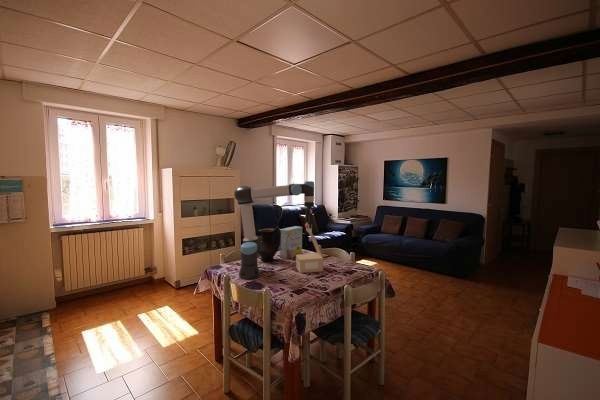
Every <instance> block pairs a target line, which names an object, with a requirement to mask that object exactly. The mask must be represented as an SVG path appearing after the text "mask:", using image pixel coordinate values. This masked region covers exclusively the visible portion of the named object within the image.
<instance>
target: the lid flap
mask: <svg viewBox="0 0 600 400" xmlns="http://www.w3.org/2000/svg"><path fill="white" fill-rule="evenodd" d="M304 226H305V229H306V228H308V223H306V222H305V224H304ZM308 234H309V237H310V238H311V239H310V240H311V241H312V244H313V246H314V248H315V251H316V253H318V254H319V255H320V256H321V257H322V258H324V256H323V253H322V251H321V249H320V246H319V244H318V241H317V239H316V236H315V235H314V234H313V232H312V233H308Z"/></svg>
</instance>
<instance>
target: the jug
mask: <svg viewBox="0 0 600 400" xmlns="http://www.w3.org/2000/svg"><path fill="white" fill-rule="evenodd" d="M257 231H258V232H260V234H261V235H260V236H261V242H260V243H259V244H260V250H259V252H258V255H259V256H260V257H261V259H260V261H261V262H263V263H272V262H274V261H275V258H274V257H275V255H276V254H277V252H278V251H279V248H280V246H281V229H280V226H276V227H275V228H263V229H262V228H261V229H257ZM275 232H276V233H277V234H276V235H277V237H276V244H275V240H274V235H275V234H274V233H275Z"/></svg>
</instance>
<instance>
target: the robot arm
mask: <svg viewBox="0 0 600 400" xmlns="http://www.w3.org/2000/svg"><path fill="white" fill-rule="evenodd" d="M301 194H302V195H303V194H304V195H303V206H304V207H305V217H304V218H305V224H306V223H308V228H306V227H305V229H306V230H305V232H307V233H308V234H309V233H312V234H313V232H312V231H313V229H312V228H313V224H314V221H313V219H314V210H313V208H314V207H315V199H316V198H315V182H314V181H313V180H311V181H309V180H305V181H304V182H303V183H289V184H286V185H285V184H284V185H277V186H267V187H266V186H264V187H256V188H255V187H251V186H248V185H242V186H238V187H237V188H235V190H234V199H236V201H237V205H238V207H240V212H241V219H242V220H241V221H242V229H243V236H244V238H243V239H242V242H243V243H242V244H241V245H240V268H239V272H238V277H239V278H240V279H243V280H252V279H254V280H255V279H257V278H259V277H260V275H261V271H260V268H259V266H258V255H259V253H258V252H259V250H260V244H261V243H260V242H259V237H258V236H257V235H256V234H257V233H256V228H255V219H254V213H253V212H254V211H253V206H252V205H253V204H254V200H259V199H269V198H278V197H279V198H280V197H288V196H289V197H290V196H299V195H301Z"/></svg>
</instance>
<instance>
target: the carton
mask: <svg viewBox="0 0 600 400" xmlns="http://www.w3.org/2000/svg"><path fill="white" fill-rule="evenodd" d="M295 268H296V269H297V271H298V272H299V273H300V274H304V273H315V272H323V271H324V257H321V256H320V255H319V254H318V253H317V252H316V253H303V254H299V255H296V256H295Z"/></svg>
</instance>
